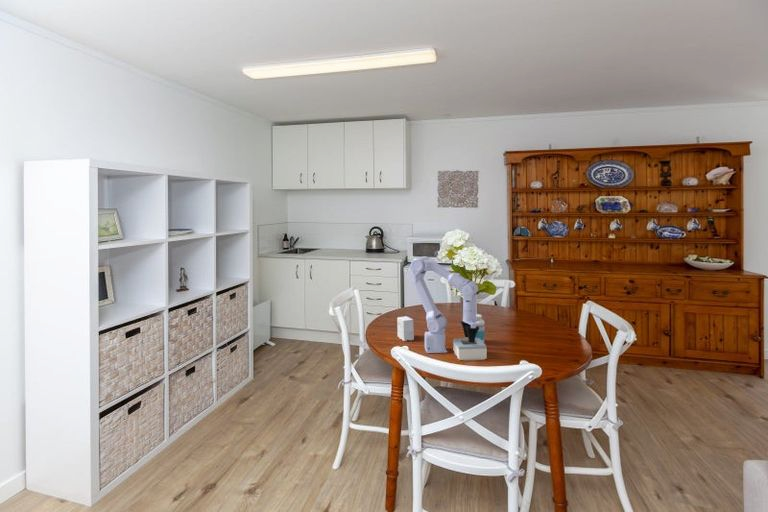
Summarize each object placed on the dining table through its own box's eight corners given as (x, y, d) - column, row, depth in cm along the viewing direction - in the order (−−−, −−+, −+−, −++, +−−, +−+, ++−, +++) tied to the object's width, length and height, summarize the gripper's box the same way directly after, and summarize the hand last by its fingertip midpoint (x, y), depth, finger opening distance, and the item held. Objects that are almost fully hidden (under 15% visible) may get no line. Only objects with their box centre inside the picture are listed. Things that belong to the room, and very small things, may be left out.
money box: (458, 360, 180) (459, 347, 179) (453, 351, 192) (453, 338, 191) (486, 359, 180) (486, 346, 180) (479, 350, 192) (479, 337, 192)
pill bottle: (465, 341, 207) (466, 314, 205) (478, 339, 209) (479, 312, 208) (474, 345, 200) (474, 317, 198) (487, 343, 202) (487, 316, 201)
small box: (413, 340, 209) (413, 319, 208) (403, 341, 207) (403, 320, 206) (407, 335, 217) (407, 315, 216) (397, 337, 215) (397, 317, 214)
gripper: (483, 313, 177) (482, 344, 178) (474, 305, 191) (474, 334, 193) (466, 313, 177) (466, 345, 178) (459, 306, 191) (459, 334, 193)
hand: (469, 339), depth 185 cm, fingers open, 7 cm apart
